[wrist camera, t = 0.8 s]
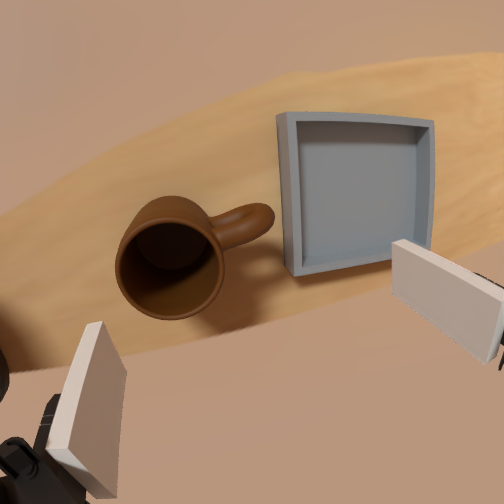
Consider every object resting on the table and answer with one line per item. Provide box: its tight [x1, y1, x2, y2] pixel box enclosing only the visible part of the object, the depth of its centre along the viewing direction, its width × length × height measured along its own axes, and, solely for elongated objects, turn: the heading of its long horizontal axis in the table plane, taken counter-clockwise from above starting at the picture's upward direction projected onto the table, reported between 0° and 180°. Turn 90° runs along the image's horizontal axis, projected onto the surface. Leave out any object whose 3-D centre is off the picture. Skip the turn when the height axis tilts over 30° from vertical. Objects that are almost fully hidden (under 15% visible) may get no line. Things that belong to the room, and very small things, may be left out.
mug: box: [115, 196, 275, 320], centre depth 25 cm, size 12×8×9 cm, turn 113°
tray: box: [276, 112, 435, 277], centre depth 30 cm, size 17×15×3 cm
